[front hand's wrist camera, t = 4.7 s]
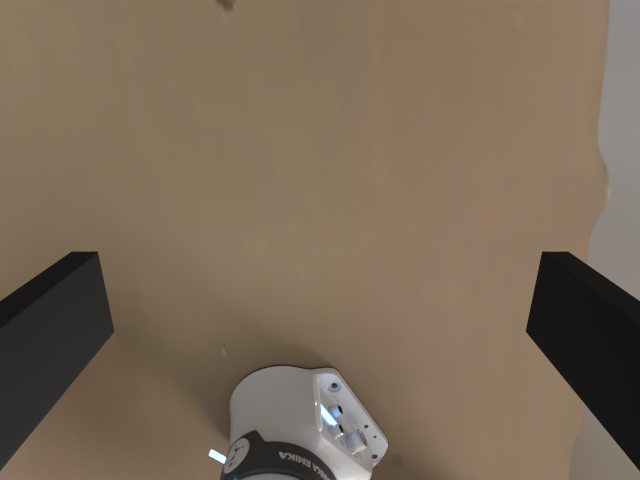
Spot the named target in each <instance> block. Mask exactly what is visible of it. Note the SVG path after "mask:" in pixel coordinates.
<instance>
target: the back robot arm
mask: <svg viewBox="0 0 640 480" xmlns="http://www.w3.org/2000/svg"><path fill="white" fill-rule="evenodd" d="M333 383H336V385H333ZM229 409H230V421H231V432H230V446H229V451H228V454H227V457H224V456H223V455H221V454H219V453H217V452H215V451H214V450H211V451H210V454H209V456H211V457H213V458H215V459H217V460H219V461H220V462H222V463H224V466H223V469H222V473H221V477H220V480H370V478H371V475H372V468H373V467H374V466H375V465H376V464H377V463H378V462H379V461H380V460H381V459H382V457H383V456H384V454H385V452H386V450H387V447H388V441H387V438H386V437H385V435H384V434H383V432H382V431H381V430H380V428H379V427H378V425H377V424H376V423H375V421H374V420H373V419H372V417H371V416H370V415H369V413H368V412H367V410H366V409H365V408H364V406H363V405H362V404H361V402H360V401H359V400H358V398H357V397H356V395H355V394H354V393H353V391H352V390H351V389H350V387H349V386H348V384H347V383H346V382H345V380H344V379H343V378H342V376H341V375H340V374H339V372H338V371H337V370H336V369H334V368H319V369H312V370H310V369H302V368H297V367H291V366H275V367H269V368H265V369H261V370H259V371H256V372H254V373H252V374H250V375H249V376H247V377H246V378H244V379H243V380H242V381H241V382H240V383H239V384H238V385H237V387H236V388H235V390H234V391H233V394H232V396H231V399H230V406H229ZM374 454H375V455H374Z"/></svg>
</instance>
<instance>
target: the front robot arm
mask: <svg viewBox="0 0 640 480" xmlns="http://www.w3.org/2000/svg"><path fill="white" fill-rule="evenodd" d="M113 332H114V328H113V323H112V318H111V313H110V309H109V304H108V299H107V294H106V289H105V284H104V280H103V275H102V270H101V265H100V260H99V256H98V252H71V253H69V254H68V255H66V256H65V257H63V258H62V259H61V260H59V261H58V262H56V263H55V264H53V265H52V266H50V267H49V268H48V269H46V270H45V271H43V272H42V273H40V274H39V275H37V276H36V277H35V278H33V279H32V280H30V281H29V282H27V283H26V284H24V285H23V286H22V287H20V288H19V289H17V290H16V291H14V292H13V293H11V294H10V295H9V296H7V297H6V298H4V299H3V300H1V301H0V471H1V469H2V468H3V467H4V466H5V465H6V463H7V462H8V461H9V460H10V458H11V457H12V456H13V455H14V454H15V452H16V451H17V450H18V449H19V447H20V446H21V445H22V444H23V443H24V441H25V440H26V439H27V438H28V436H29V435H30V434H31V433H32V432H33V430H34V429H35V428H36V427H37V425H38V424H39V423H40V422H41V421H42V419H43V418H44V417H45V416H46V414H47V413H48V412H49V411H50V410H51V408H52V407H53V406H54V405H55V403H56V402H57V401H58V400H59V399H60V397H61V396H62V395H63V394H64V392H65V391H66V390H67V389H68V387H69V386H70V385H71V384H72V383H73V381H74V380H75V379H76V378H77V376H78V375H79V374H80V373H81V372H82V370H83V369H84V368H85V367H86V365H87V364H88V363H89V362H90V361H91V359H92V358H93V357H94V356H95V354H96V353H97V352H98V351H99V350H100V348H101V347H102V346H103V345H104V343H105V342H106V341H107V340H108V339H109V337H110V336H111V335H112V334H113ZM526 332H527V334H528V335H529V336H530V337H531V339H532V340H533V341H534V342H535V343H536V345H537V346H538V347H539V348H540V350H541V351H542V352H543V353H544V354H545V356H546V357H547V358H548V359H549V361H550V362H551V363H552V364H553V365H554V367H555V368H556V369H557V370H558V372H559V373H560V374H561V375H562V376H563V378H564V379H565V380H566V381H567V383H568V384H569V385H570V386H571V387H572V389H573V390H574V391H575V392H576V394H577V395H578V396H579V397H580V399H581V400H582V401H583V402H584V403H585V405H586V406H587V407H588V408H589V410H590V411H591V412H592V413H593V414H594V416H595V417H596V418H597V419H598V420H599V422H600V423H601V424H602V425H603V427H604V428H605V429H606V430H607V432H608V433H609V434H610V435H611V436H612V438H613V439H614V440H615V441H616V443H617V444H618V445H619V446H620V447H621V449H622V450H623V451H624V452H625V454H626V455H627V456H628V457H629V458H630V460H631V461H632V462H633V463H634V465H635V466H636V467H637V468H638V469H639V471H640V301H639V300H637V299H636V298H634V297H633V296H631V295H630V294H628V293H627V292H626V291H624V290H623V289H621V288H620V287H618V286H617V285H616V284H614V283H613V282H611V281H610V280H608V279H607V278H605V277H604V276H603V275H601V274H600V273H598V272H597V271H595V270H594V269H592V268H591V267H590V266H588V265H587V264H585V263H584V262H582V261H581V260H579V259H578V258H577V257H575V256H574V255H572V254H571V253H569V252H542V256H541V260H540V265H539V270H538V275H537V280H536V284H535V289H534V294H533V299H532V304H531V309H530V313H529V318H528V323H527V328H526Z"/></svg>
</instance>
